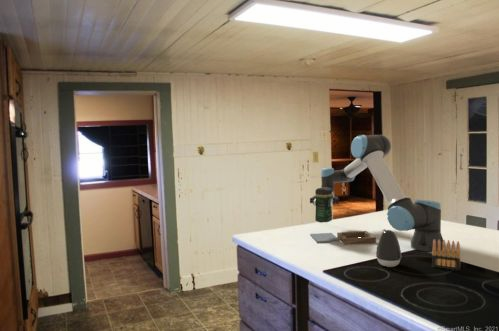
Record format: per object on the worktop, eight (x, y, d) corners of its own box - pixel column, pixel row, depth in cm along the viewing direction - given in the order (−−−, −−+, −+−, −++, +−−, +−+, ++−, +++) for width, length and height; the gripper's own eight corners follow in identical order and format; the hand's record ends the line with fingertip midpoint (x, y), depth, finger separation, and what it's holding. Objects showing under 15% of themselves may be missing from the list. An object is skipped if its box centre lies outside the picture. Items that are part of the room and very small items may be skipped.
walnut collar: (375, 243, 211) (375, 237, 210) (345, 244, 209) (345, 239, 209) (366, 236, 225) (366, 231, 224) (337, 238, 223) (337, 232, 223)
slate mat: (339, 241, 215) (339, 240, 215) (317, 243, 214) (317, 241, 214) (331, 234, 231) (331, 232, 231) (310, 235, 230) (310, 233, 230)
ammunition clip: (460, 269, 168) (460, 240, 167) (460, 270, 166) (460, 241, 165) (432, 266, 173) (432, 238, 173) (431, 267, 172) (431, 239, 171)
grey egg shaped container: (395, 260, 182) (395, 226, 180) (405, 268, 171) (405, 232, 170) (372, 261, 181) (372, 227, 180) (381, 269, 171) (380, 233, 170)
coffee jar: (327, 223, 216) (326, 188, 214) (313, 222, 221) (312, 187, 219) (334, 220, 224) (334, 186, 222) (320, 218, 228) (320, 185, 227)
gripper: (345, 203, 236) (343, 211, 214) (308, 202, 242) (303, 210, 220) (345, 190, 236) (343, 196, 214) (308, 189, 241) (302, 196, 219)
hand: (322, 203), depth 217 cm, fingers closed on coffee jar, 8 cm apart
